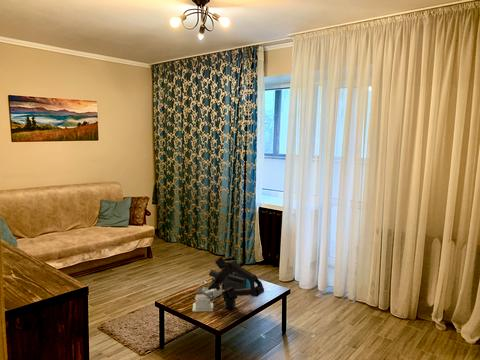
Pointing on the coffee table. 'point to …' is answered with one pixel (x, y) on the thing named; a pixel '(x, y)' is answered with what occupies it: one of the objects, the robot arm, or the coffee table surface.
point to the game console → (235, 282)
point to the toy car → (211, 291)
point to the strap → (203, 293)
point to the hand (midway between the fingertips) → (208, 289)
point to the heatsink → (202, 302)
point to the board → (202, 309)
